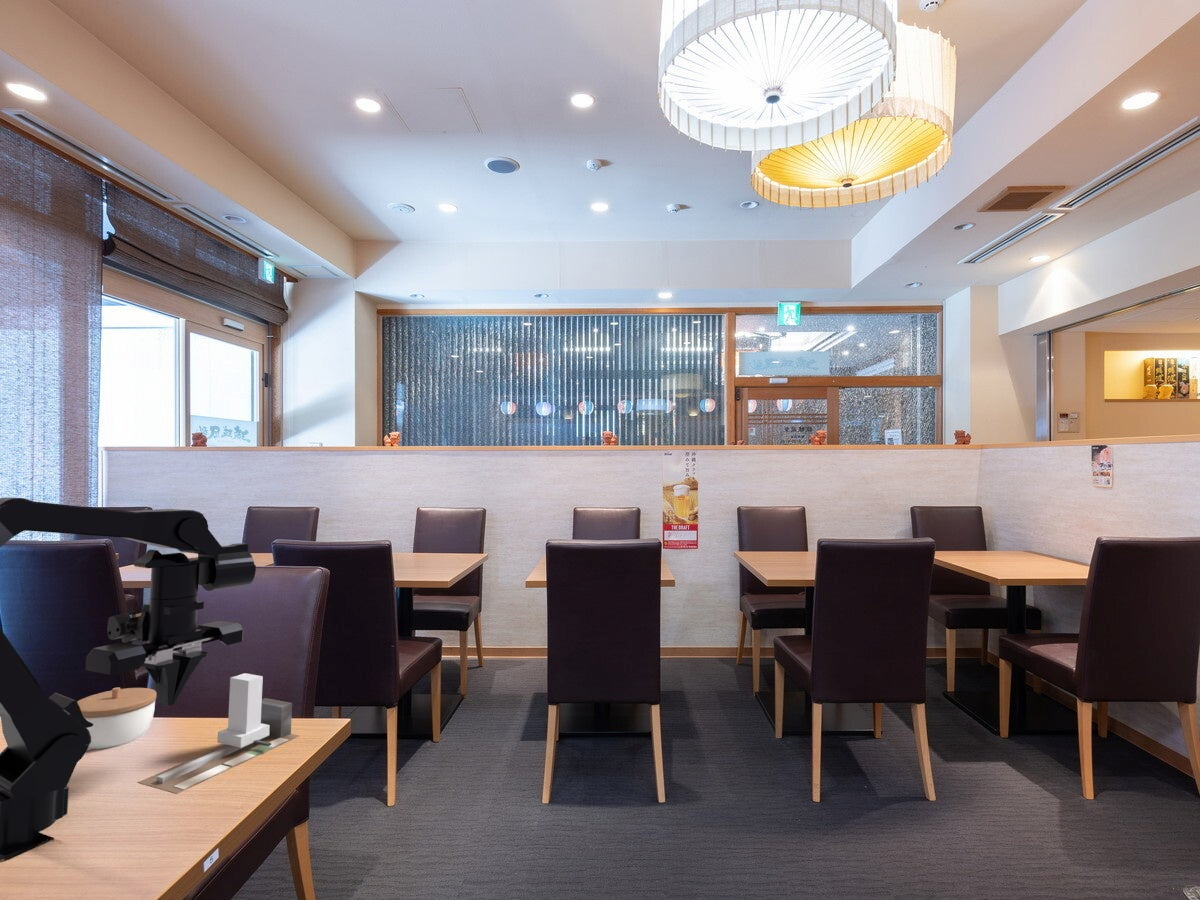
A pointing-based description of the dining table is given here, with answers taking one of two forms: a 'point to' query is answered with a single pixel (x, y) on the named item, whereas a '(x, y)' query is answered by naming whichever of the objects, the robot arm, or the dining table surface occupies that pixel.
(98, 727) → the lidded jar
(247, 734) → the slider
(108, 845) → the dining table surface
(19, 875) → the dining table surface
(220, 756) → the base
